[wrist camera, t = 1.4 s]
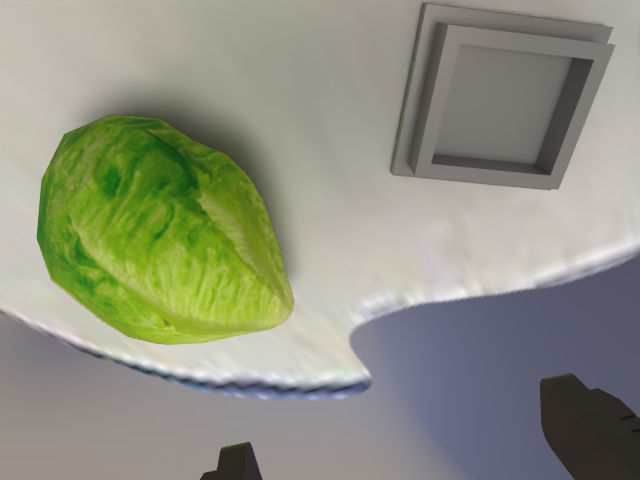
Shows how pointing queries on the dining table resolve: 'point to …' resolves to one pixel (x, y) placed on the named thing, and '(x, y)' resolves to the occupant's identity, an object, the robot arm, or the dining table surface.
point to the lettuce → (160, 234)
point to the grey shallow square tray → (497, 97)
